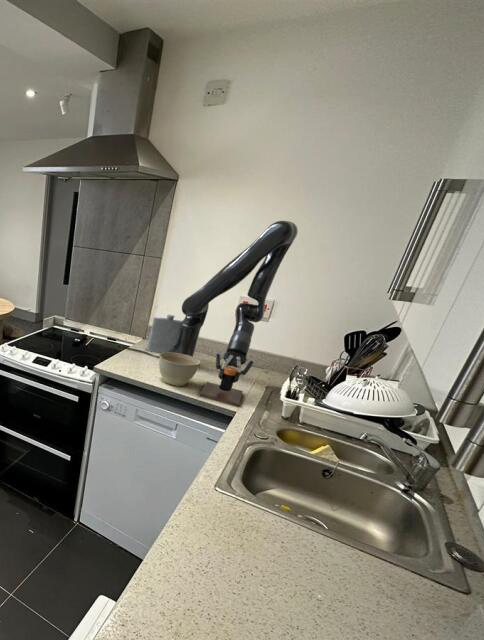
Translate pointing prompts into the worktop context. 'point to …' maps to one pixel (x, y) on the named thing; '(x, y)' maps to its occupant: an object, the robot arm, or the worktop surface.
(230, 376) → the battery
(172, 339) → the hip flask
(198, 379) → the worktop surface
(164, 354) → the planter bowl
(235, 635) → the worktop surface
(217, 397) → the walnut board
